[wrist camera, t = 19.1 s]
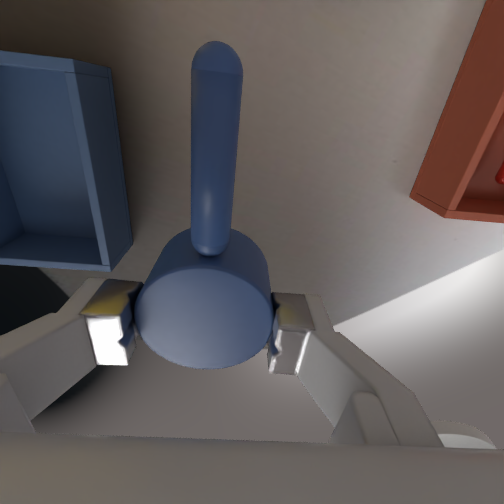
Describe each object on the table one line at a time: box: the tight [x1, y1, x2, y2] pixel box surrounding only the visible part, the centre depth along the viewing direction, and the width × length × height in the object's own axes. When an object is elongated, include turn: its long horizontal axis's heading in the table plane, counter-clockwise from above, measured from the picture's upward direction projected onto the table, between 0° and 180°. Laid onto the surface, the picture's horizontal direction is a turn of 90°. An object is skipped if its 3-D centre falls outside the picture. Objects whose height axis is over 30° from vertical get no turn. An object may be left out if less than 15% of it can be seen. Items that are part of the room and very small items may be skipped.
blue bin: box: [0, 50, 133, 272], centre depth 19 cm, size 13×9×5 cm
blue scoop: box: [134, 41, 274, 369], centre depth 8 cm, size 9×4×3 cm, turn 173°
